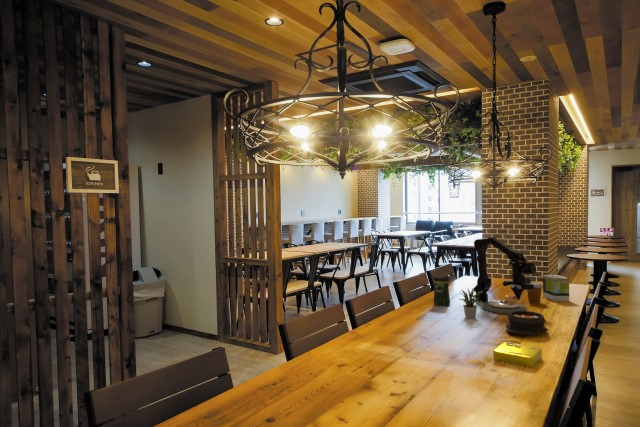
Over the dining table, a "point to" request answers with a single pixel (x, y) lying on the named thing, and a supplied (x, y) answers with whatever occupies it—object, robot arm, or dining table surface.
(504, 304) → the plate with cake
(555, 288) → the tea box
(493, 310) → the base plate
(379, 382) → the dining table surface
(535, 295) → the disposable coffee cup
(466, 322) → the dining table surface
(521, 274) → the robot arm
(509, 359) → the element tile
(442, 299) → the coffee jar
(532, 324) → the casserole
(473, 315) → the house plant
